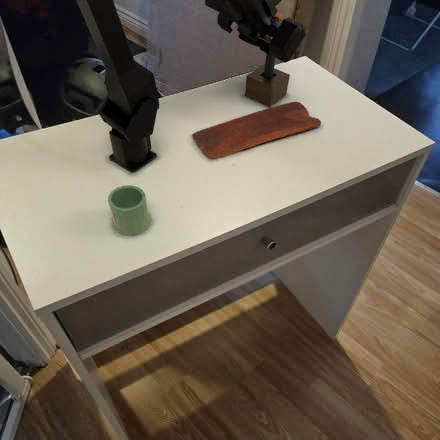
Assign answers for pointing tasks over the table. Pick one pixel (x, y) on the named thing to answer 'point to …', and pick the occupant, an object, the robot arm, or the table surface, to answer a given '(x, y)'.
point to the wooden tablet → (254, 129)
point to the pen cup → (129, 210)
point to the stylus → (270, 59)
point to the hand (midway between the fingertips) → (276, 51)
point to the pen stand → (266, 86)
